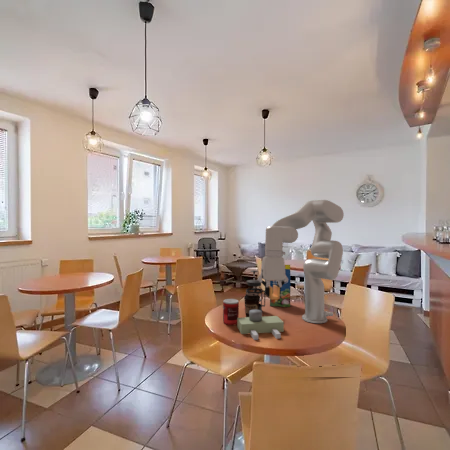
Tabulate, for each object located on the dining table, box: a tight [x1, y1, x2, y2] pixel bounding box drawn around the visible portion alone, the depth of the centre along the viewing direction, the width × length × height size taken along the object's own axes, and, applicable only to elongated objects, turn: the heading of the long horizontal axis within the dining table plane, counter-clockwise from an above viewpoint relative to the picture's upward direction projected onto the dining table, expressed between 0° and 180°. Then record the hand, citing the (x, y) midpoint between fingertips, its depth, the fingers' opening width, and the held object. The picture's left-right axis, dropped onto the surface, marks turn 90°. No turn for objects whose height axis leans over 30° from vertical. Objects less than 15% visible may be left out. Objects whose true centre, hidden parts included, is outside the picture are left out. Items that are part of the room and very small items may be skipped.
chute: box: [267, 285, 280, 300], centre depth 123 cm, size 4×6×5 cm, turn 10°
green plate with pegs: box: [236, 309, 285, 341], centre depth 129 cm, size 20×16×8 cm
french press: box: [245, 269, 266, 312], centre depth 161 cm, size 12×9×23 cm
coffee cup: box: [243, 292, 261, 317], centre depth 148 cm, size 9×8×13 cm
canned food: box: [222, 298, 240, 326], centre depth 142 cm, size 8×8×11 cm
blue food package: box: [269, 264, 291, 308], centre depth 172 cm, size 6×12×25 cm, turn 80°
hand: (272, 295), depth 123 cm, fingers closed on chute, 4 cm apart
